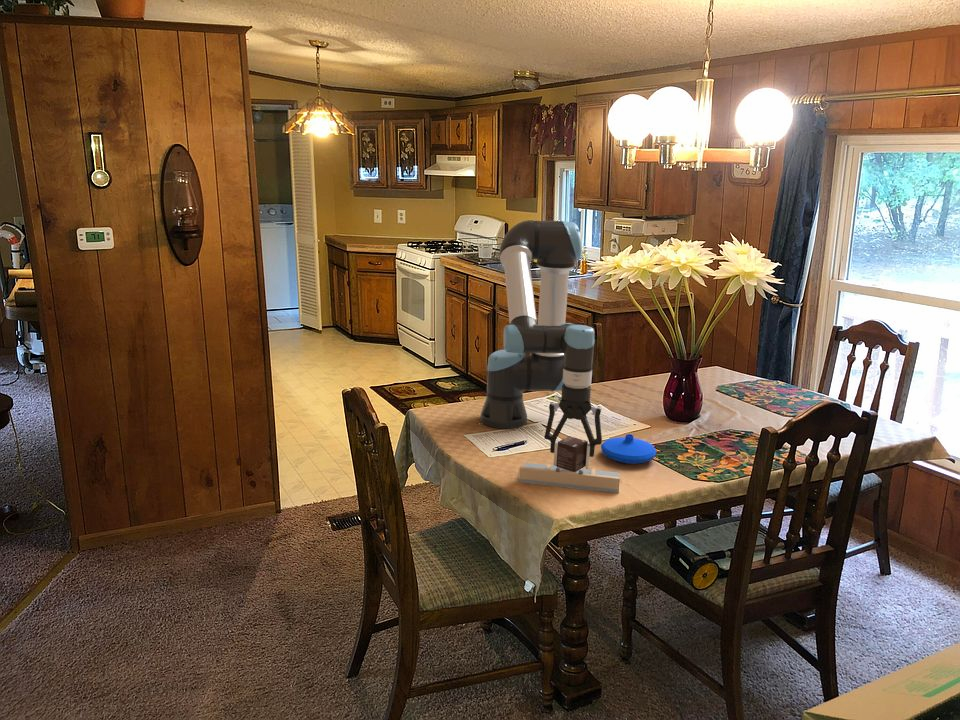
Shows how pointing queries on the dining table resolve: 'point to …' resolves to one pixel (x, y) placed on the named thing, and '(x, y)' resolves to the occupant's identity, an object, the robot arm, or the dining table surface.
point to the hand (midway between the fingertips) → (571, 465)
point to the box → (571, 454)
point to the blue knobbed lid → (628, 449)
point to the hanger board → (570, 477)
